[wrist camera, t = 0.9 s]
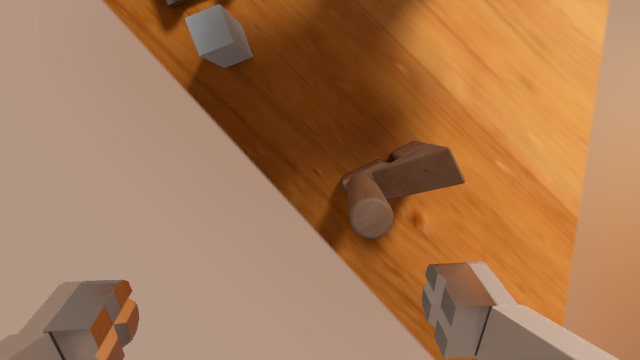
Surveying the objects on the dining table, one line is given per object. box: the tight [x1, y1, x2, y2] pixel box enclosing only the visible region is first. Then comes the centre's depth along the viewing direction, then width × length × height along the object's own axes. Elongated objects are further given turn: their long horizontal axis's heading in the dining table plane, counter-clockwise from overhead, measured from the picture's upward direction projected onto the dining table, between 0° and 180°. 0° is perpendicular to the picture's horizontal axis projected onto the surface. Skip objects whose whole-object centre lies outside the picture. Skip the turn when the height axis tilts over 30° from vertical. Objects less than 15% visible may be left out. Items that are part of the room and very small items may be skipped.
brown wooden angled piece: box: [342, 141, 465, 239], centre depth 36 cm, size 4×11×18 cm, turn 118°
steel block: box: [185, 4, 253, 68], centre depth 39 cm, size 4×4×8 cm
